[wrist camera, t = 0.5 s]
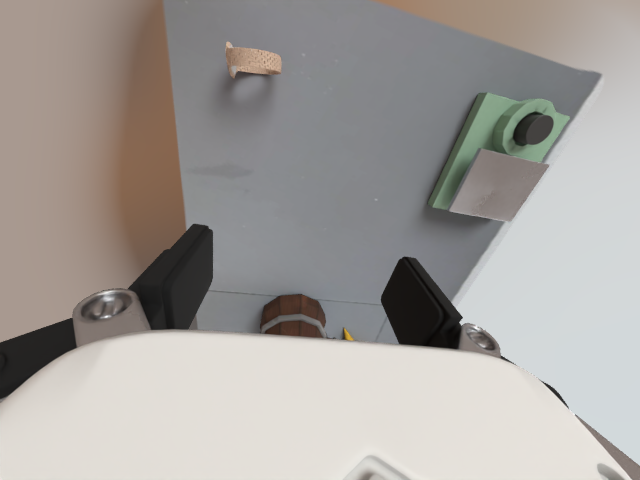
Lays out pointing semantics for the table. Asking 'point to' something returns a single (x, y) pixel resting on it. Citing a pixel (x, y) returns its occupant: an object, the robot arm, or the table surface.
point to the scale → (493, 138)
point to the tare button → (533, 129)
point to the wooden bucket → (294, 317)
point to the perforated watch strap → (252, 61)
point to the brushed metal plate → (496, 185)
